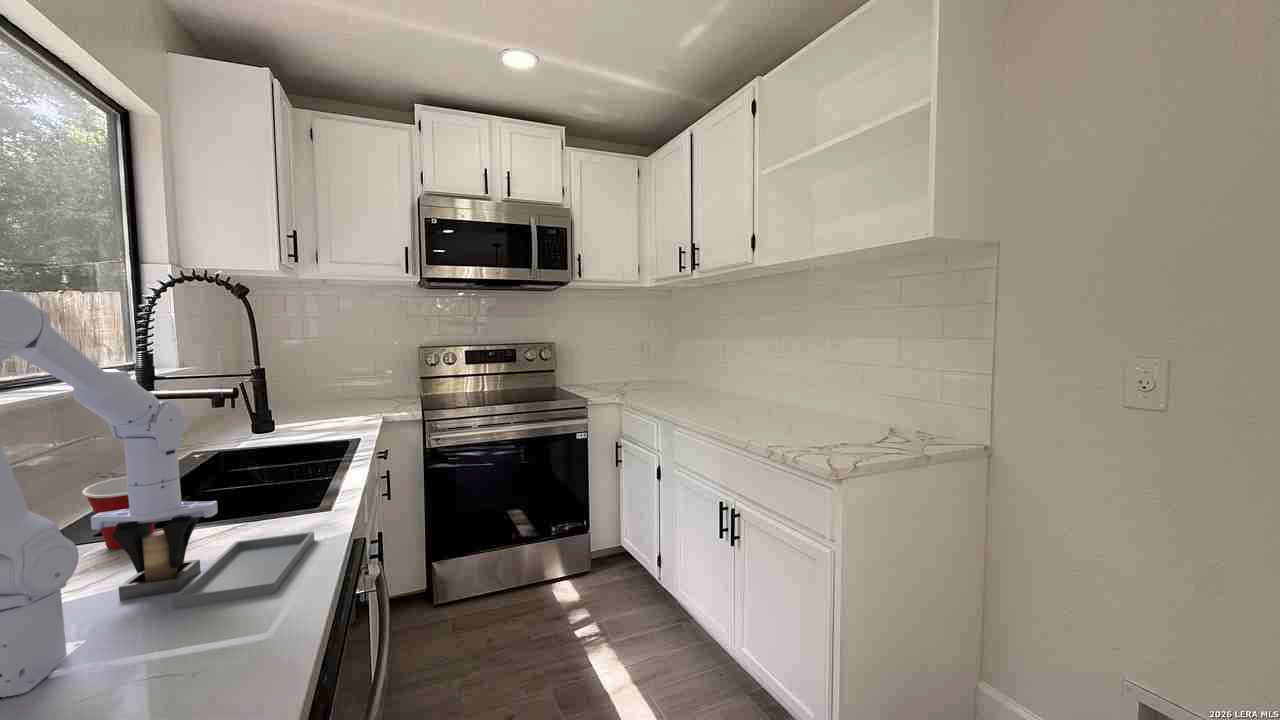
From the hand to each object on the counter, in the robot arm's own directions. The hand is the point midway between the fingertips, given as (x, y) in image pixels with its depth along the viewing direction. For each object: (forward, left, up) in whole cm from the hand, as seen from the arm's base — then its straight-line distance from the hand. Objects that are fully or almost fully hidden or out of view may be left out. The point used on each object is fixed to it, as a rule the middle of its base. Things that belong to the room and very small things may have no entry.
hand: (161, 567), depth 78 cm
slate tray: (+1, -11, -3) cm, 12 cm away
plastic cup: (+22, +15, -4) cm, 27 cm away
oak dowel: (0, 0, -3) cm, 3 cm away
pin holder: (0, 0, -3) cm, 3 cm away
